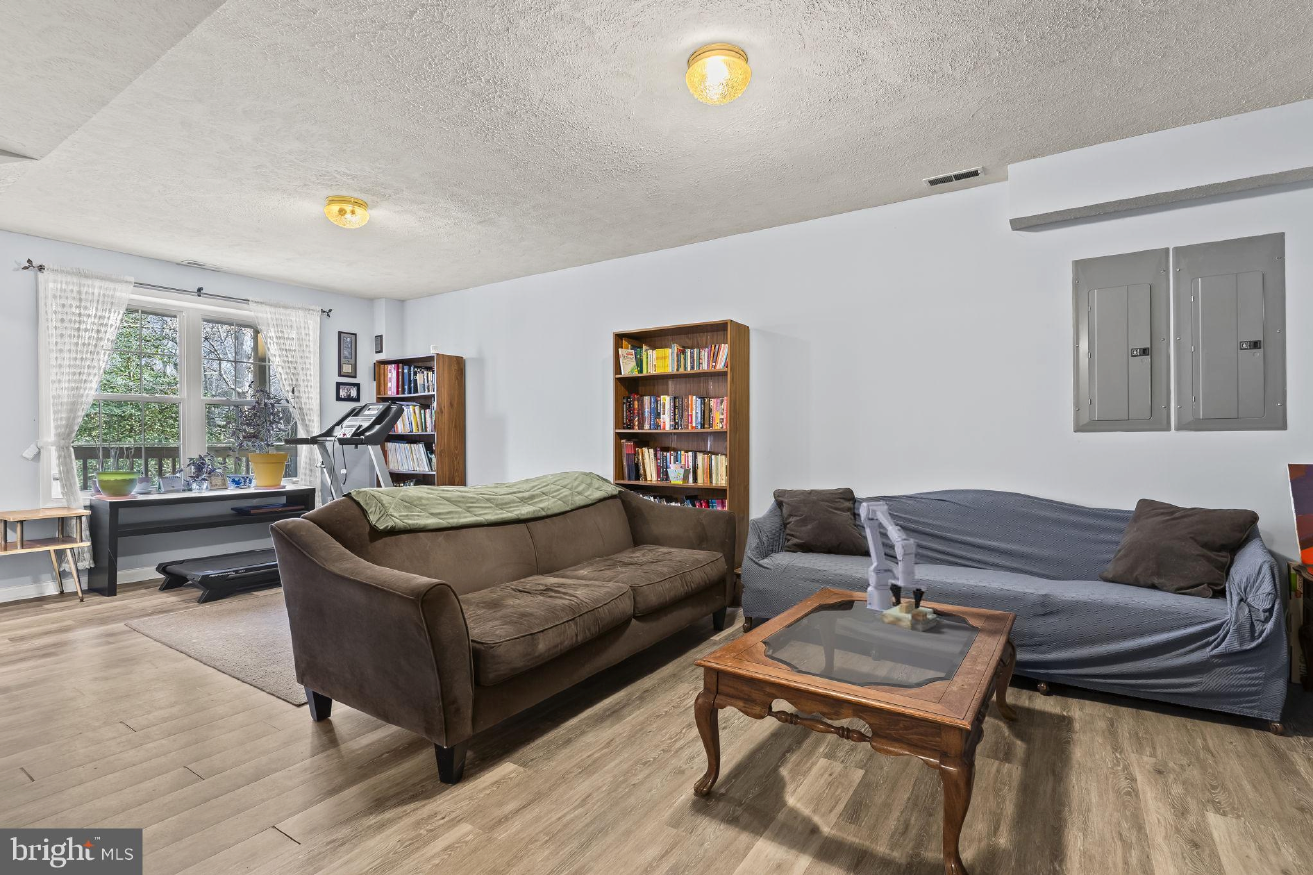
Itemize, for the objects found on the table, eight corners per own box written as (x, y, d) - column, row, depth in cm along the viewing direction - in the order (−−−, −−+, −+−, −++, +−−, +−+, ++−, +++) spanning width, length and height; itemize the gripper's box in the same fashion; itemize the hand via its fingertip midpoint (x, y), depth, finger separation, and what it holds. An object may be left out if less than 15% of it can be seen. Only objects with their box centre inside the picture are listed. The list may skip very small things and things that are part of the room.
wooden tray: (881, 622, 241) (881, 612, 241) (903, 612, 252) (903, 603, 252) (921, 631, 228) (921, 621, 228) (943, 621, 239) (943, 611, 239)
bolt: (911, 618, 232) (911, 612, 232) (916, 616, 234) (916, 610, 234) (921, 620, 229) (921, 614, 228) (927, 618, 231) (926, 612, 231)
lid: (882, 616, 241) (882, 604, 241) (903, 607, 252) (903, 596, 251) (922, 625, 229) (922, 612, 229) (943, 616, 239) (943, 603, 239)
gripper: (883, 570, 245) (884, 604, 245) (919, 575, 233) (920, 612, 234) (893, 567, 249) (894, 601, 249) (928, 572, 238) (929, 608, 238)
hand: (907, 606), depth 242 cm, fingers open, 7 cm apart
